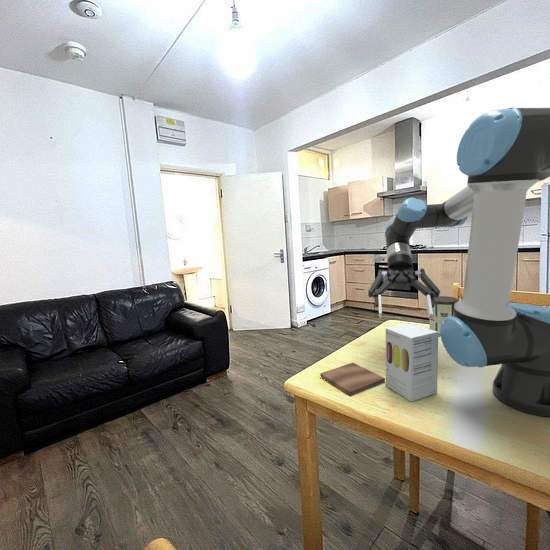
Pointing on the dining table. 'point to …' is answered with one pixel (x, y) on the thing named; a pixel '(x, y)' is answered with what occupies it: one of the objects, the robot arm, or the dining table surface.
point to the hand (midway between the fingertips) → (405, 316)
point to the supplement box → (411, 360)
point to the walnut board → (352, 378)
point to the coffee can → (442, 311)
